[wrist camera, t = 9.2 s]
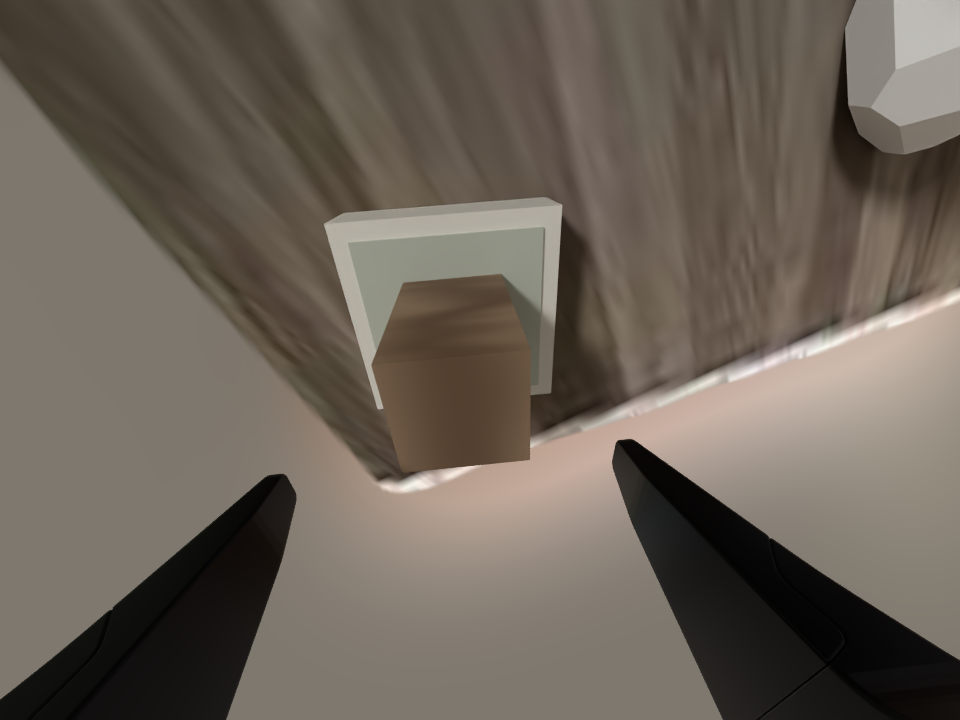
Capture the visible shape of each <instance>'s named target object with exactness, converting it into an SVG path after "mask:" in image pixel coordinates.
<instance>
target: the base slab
mask: <svg viewBox="0 0 960 720" xmlns="http://www.w3.org/2000/svg"><path fill="white" fill-rule="evenodd" d="M561 218H562V205H561V204H559V203H557V202H555V201H553V200H551V199H549V198H547V197H540V198H527V199H515V200H502V201H489V202H477V203H464V204H451V205H439V206H426V207H413V208H401V209H388V210H375V211H363V212H350V213H343V214H341V215H339V216H338V217H336V218H334V219H332V220H330V221H328V222H327V223H325V224H324V226H325V229H326V233H327V236H328V240H329V243H330V246H331V250H332V253H333V257H334V260H335V264H336V267H337V270H338V274H339V277H340V281H341V284H342V288H343V291H344V295H345V298H346V301H347V305H348V308H349V312H350V315H351V319H352V322H353V325H354V329H355V332H356V336H357V339H358V343H359V346H360V350H361V353H362V356H363V360H364V363H365V367H366V370H367V374H368V377H369V380H370V384H371V387H372V391H373V394H374V398H375V401H376V405H377V408H378V409H384V408H383V405H382V401H381V398H380V394H379V391H378V387H377V384H376V380H375V377H374V373H373V370H372V366H371V364H372V361H373V359H374V356H375V354H376V351H377V349H378V346H379V343H380V341H381V338H382V336H383V333H384V331H385V328H386V325H387V323H388V320H389V318H390V315H391V312H392V310H393V307H394V305H395V302H396V300H397V297H398V294H399V292H400V289H401V287H402V284H403V283H405V282H416V281H427V280H438V279H449V278H460V277H471V276H482V275H493V274H501V275H502V277H503V280H504V282H505V285H506V288H507V290H508V293H509V295H510V298H511V300H512V303H513V305H514V308H515V310H516V313H517V316H518V318H519V321H520V323H521V326H522V328H523V331H524V333H525V336H526V338H527V341H528V344H529V346H530V349H531V393H530V395H538V394H548V393H551V385H552V368H553V352H554V335H555V318H556V302H557V285H558V268H559V252H560V235H561Z"/></svg>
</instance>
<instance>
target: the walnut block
mask: <svg viewBox="0 0 960 720" xmlns="http://www.w3.org/2000/svg"><path fill="white" fill-rule="evenodd" d="M371 366H372V370H373V373H374V377H375V380H376V384H377V387H378V391H379V394H380V398H381V401H382V405H383V408H384V412H385V415H386V419H387V422H388V425H389V429H390V432H391V436H392V439H393V443H394V446H395V450H396V453H397V457H398V460H399V464H400V467H401V471H402V473H406V472H416V471H426V470H435V469H445V468H455V467H465V466H475V465H484V464H494V463H503V462H514V461H524V460H530V393H531V349H530V346H529V344H528V341H527V338H526V336H525V333H524V331H523V328H522V326H521V323H520V321H519V318H518V316H517V313H516V310H515V308H514V305H513V303H512V300H511V298H510V295H509V293H508V290H507V288H506V285H505V282H504V280H503V277H502V275H501V274H493V275H482V276H471V277H460V278H449V279H438V280H427V281H416V282H405V283H403V284H402V287H401V289H400V292H399V294H398V297H397V300H396V302H395V305H394V307H393V310H392V312H391V315H390V318H389V320H388V323H387V325H386V328H385V331H384V333H383V336H382V338H381V341H380V343H379V346H378V349H377V351H376V354H375V356H374V359H373V361H372V364H371Z"/></svg>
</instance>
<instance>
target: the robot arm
mask: <svg viewBox="0 0 960 720" xmlns="http://www.w3.org/2000/svg"><path fill="white" fill-rule="evenodd" d="M612 465H613V470H614V473H615V476H616V479H617V482H618V484H619V487H620V490H621V493H622V496H623V499H624V502H625V505H626V508H627V511H628V514H629V517H630V519H631V522H632V524H633V527H634V529H635V531H636V533H637V536H638V538H639V540H640V542H641V544H642V546H643V548H644V551H645V553H646V555H647V557H648V559H649V561H650V563H651V566H652V568H653V570H654V572H655V574H656V577H657V579H658V581H659V583H660V585H661V587H662V589H663V592H664V594H665V596H666V598H667V600H668V602H669V604H670V607H671V609H672V611H673V613H674V615H675V617H676V620H677V622H678V624H679V626H680V628H681V630H682V633H683V635H684V637H685V639H686V641H687V643H688V645H689V648H690V650H691V652H692V654H693V656H694V658H695V661H696V663H697V665H698V667H699V669H700V671H701V673H702V676H703V678H704V680H705V682H706V684H707V686H708V688H709V691H710V693H711V695H712V697H713V699H714V702H715V704H716V706H717V708H718V710H719V712H720V714H721V716H722V719H723V720H960V660H959V659H957V658H955V657H954V656H952V655H950V654H949V653H947V652H945V651H944V650H942V649H940V648H939V647H937V646H936V645H934V644H932V643H931V642H929V641H928V640H926V639H925V638H923V637H921V636H920V635H918V634H917V633H915V632H913V631H912V630H910V629H909V628H907V627H905V626H904V625H902V624H901V623H899V622H898V621H896V620H894V619H893V618H891V617H890V616H888V615H887V614H885V613H883V612H882V611H880V610H879V609H877V608H875V607H874V606H872V605H871V604H869V603H868V602H866V601H864V600H862V599H861V598H860V597H858V596H856V595H855V594H853V593H852V592H850V591H849V590H847V589H846V588H844V587H843V586H841V585H839V584H838V583H836V582H834V581H833V580H832V579H830V578H829V577H827V576H826V575H824V574H822V573H821V572H819V571H818V570H817V569H815V568H814V567H812V566H811V565H809V564H808V563H806V562H805V561H803V560H802V559H801V558H799V557H798V556H796V555H795V554H793V553H792V552H790V551H789V550H788V549H786V548H785V547H783V546H782V545H781V544H779V543H778V542H776V541H775V540H773V539H771V538H770V539H769V537H768V536H767V535H766V534H765V533H764V532H762V531H761V530H759V529H758V528H756V527H755V526H754V525H752V524H751V523H750V522H748V521H747V520H745V519H744V518H743V517H741V516H740V515H738V514H737V513H736V512H734V511H733V510H731V509H730V508H729V507H727V506H726V505H724V504H723V503H722V502H720V501H719V500H717V499H716V498H715V497H713V496H712V495H710V494H709V493H708V492H706V491H705V490H703V489H702V488H700V487H699V486H698V485H696V484H695V483H694V482H692V481H691V480H689V479H688V478H687V477H685V476H684V475H682V474H681V473H679V472H678V471H677V470H675V469H674V468H673V467H671V466H670V465H668V464H667V463H666V462H664V461H663V460H661V459H660V458H658V457H657V456H656V455H654V454H653V453H652V452H650V451H649V450H647V449H646V448H644V447H643V446H642V445H640V444H639V443H638V442H636V441H635V440H632V439H626V440H618V441H617V442H616V445H615V450H614V455H613V460H612ZM295 505H296V492H295V490H294V489H293V487H292V485H291V483H290V481H289V480H288V478H287V476H286V475H284V474H275V475H269V476H267V477H265V478H264V479H263V480H261V481H260V482H259V483H258V484H257V485H255V486H254V487H253V488H252V489H251V490H250V491H249V492H247V493H246V494H245V495H244V496H243V497H242V498H240V499H239V500H238V501H237V502H236V503H234V504H233V505H232V506H231V507H230V508H229V509H228V510H226V511H225V512H224V513H223V514H222V515H220V516H219V517H218V518H217V519H216V520H215V521H213V522H212V523H211V524H210V525H209V526H207V527H206V528H205V529H204V530H203V531H202V532H200V533H199V534H198V535H197V536H196V537H195V538H193V539H192V540H191V541H190V542H189V543H188V544H187V545H185V546H184V547H183V548H182V549H181V550H179V551H178V552H177V553H176V554H175V555H174V556H172V557H171V558H170V559H169V560H168V561H166V562H165V563H164V564H163V565H162V566H161V567H159V568H158V569H157V570H156V571H155V572H154V573H152V574H151V575H150V576H149V577H148V578H147V579H145V580H144V581H143V582H142V583H141V584H140V585H138V586H137V587H136V588H135V589H134V590H133V591H131V592H130V593H129V594H128V595H127V596H126V597H124V598H123V599H122V600H121V601H120V602H118V603H117V604H116V605H115V606H114V607H113V609H112V610H109V611H108V612H107V613H105V614H104V615H103V616H102V617H101V618H100V619H98V620H97V621H96V622H95V623H94V624H93V625H91V626H90V627H89V628H88V629H87V630H86V631H84V632H83V633H82V634H81V635H80V636H78V637H77V638H76V639H75V640H74V641H72V642H71V643H70V644H69V645H68V646H66V647H65V648H64V649H63V650H61V651H60V652H59V653H58V654H57V655H55V656H54V657H53V658H52V659H51V660H49V661H48V662H47V663H46V664H45V665H43V666H42V667H41V668H39V669H38V670H37V671H36V672H34V673H33V674H32V675H31V676H29V677H28V678H27V679H26V680H24V681H23V682H22V683H21V684H19V685H18V686H17V687H16V688H14V689H13V690H12V691H11V692H9V693H8V694H7V695H5V696H4V697H3V698H2V699H0V720H226V718H227V716H228V713H229V710H230V707H231V704H232V701H233V699H234V696H235V693H236V690H237V687H238V684H239V681H240V678H241V675H242V673H243V670H244V667H245V664H246V661H247V659H248V656H249V653H250V650H251V647H252V644H253V641H254V639H255V636H256V633H257V630H258V627H259V624H260V622H261V619H262V616H263V613H264V610H265V607H266V604H267V601H268V599H269V596H270V593H271V590H272V587H273V584H274V582H275V579H276V576H277V573H278V570H279V567H280V564H281V561H282V558H283V554H284V550H285V546H286V542H287V538H288V534H289V530H290V525H291V521H292V517H293V513H294V508H295Z"/></svg>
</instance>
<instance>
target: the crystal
mask: <svg viewBox="0 0 960 720" xmlns="http://www.w3.org/2000/svg"><path fill="white" fill-rule="evenodd" d="M845 40H846V63H847V86H848V106H849V109H850V111H851V114H852V117H853V120H854V123H855V125H856V128H857V131H858V134H859V135H861V136H862V137H863V138H865V139H866V140H867V141H869V142H870V143H871V144H873V145H874V146H875V147H876V148H878V149H879V150H880V151H882V152H884V153H893V154H902V155H906V154H909V153H913V152H916V151H920V150H924V149H927V148H931V147H934V146H936V145H938V144H941V143H943V142H945V141H947V140H949V139H952V138H954V137H956V136H958V135H960V0H856V2H855V5H854V7H853V10H852V12H851V15H850V17H849V20H848V22H847V25H846V27H845Z"/></svg>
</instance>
